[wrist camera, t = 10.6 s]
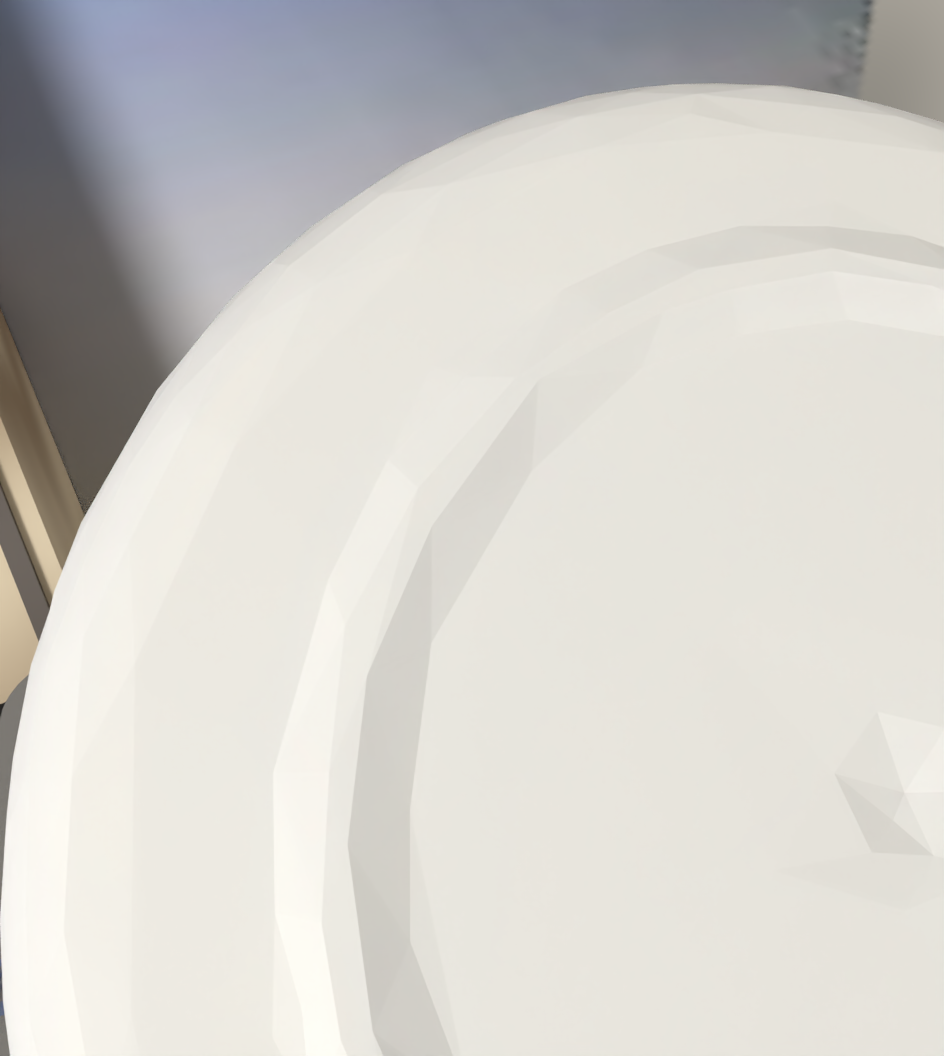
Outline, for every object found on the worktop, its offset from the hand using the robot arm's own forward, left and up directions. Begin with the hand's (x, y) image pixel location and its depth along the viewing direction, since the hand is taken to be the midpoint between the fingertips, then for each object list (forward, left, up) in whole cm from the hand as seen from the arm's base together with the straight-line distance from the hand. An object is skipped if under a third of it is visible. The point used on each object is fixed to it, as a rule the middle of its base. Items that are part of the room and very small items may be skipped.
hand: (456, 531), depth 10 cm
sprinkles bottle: (+2, -1, -6) cm, 6 cm away
